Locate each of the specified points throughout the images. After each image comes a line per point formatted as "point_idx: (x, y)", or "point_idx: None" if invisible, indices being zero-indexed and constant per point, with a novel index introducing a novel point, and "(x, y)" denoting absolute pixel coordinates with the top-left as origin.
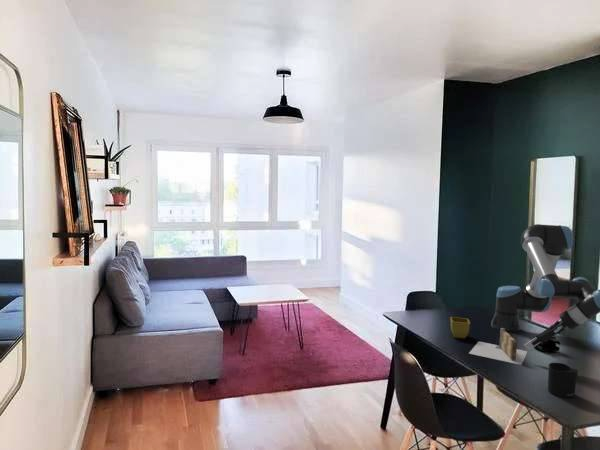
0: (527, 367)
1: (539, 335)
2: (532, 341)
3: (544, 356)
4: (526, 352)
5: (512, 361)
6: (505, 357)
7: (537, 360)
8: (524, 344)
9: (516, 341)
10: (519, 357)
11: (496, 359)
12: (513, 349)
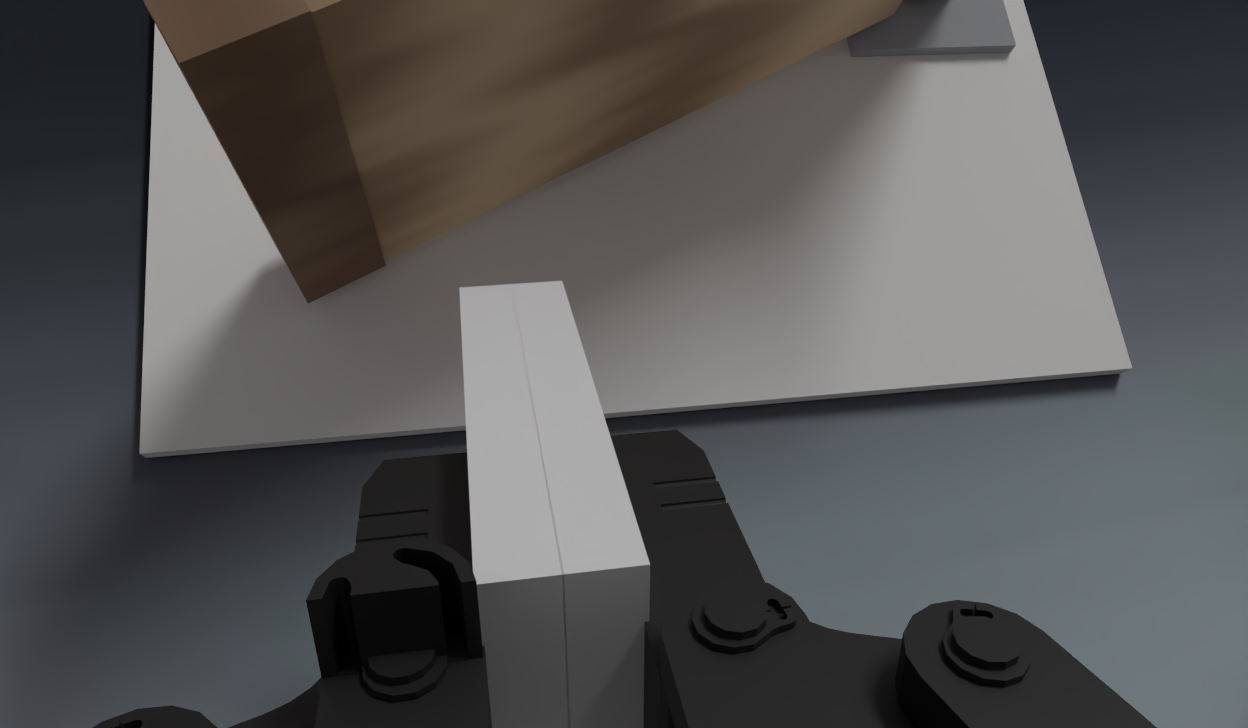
0: (119, 580)
1: (677, 690)
2: (467, 470)
3: (1157, 700)
4: (1037, 368)
5: (239, 271)
6: None
7: None
8: (561, 281)
9: (203, 41)
10: (609, 326)
11: (155, 30)
12: (217, 137)
